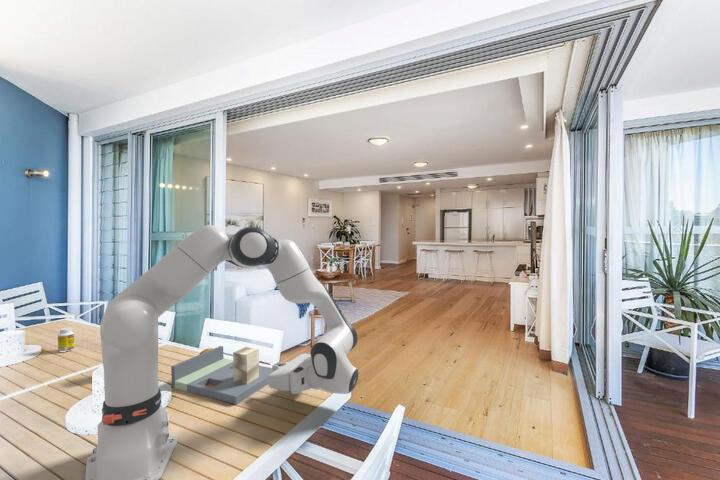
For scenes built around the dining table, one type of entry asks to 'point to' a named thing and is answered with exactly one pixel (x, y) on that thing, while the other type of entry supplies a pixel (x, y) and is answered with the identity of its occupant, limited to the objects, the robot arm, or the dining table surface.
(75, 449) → the dining table surface
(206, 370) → the pad
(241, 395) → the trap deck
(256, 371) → the birch block
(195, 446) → the dining table surface
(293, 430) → the dining table surface
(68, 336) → the supplement bottle
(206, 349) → the bread roll
